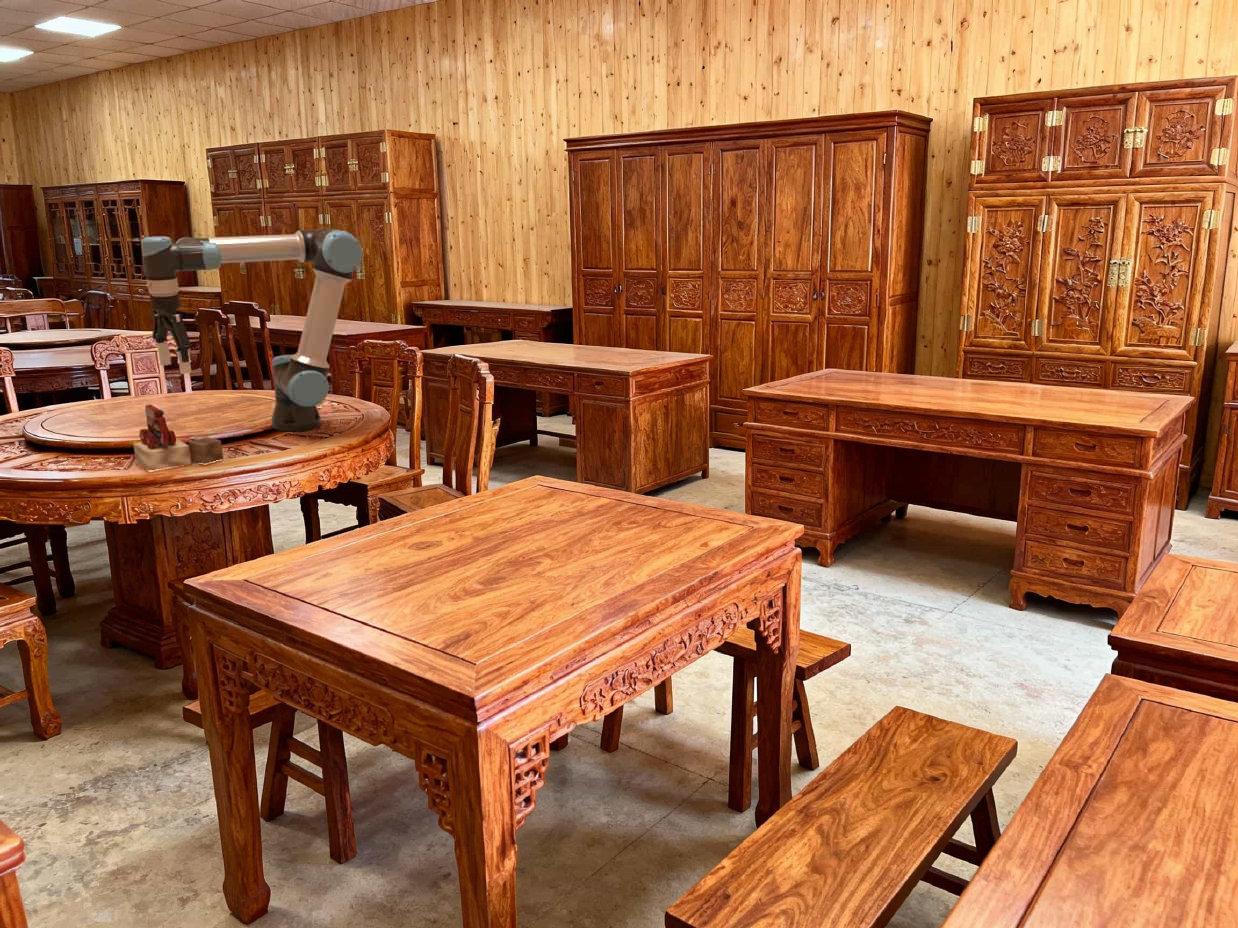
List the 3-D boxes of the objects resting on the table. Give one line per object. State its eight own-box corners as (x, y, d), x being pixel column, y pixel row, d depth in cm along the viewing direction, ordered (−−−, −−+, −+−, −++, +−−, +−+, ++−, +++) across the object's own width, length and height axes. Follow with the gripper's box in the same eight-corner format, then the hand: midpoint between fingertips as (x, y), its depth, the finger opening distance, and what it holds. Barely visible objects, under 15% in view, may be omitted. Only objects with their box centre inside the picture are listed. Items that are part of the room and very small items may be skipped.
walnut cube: (209, 456, 266) (207, 436, 264) (222, 460, 263) (220, 440, 261) (190, 462, 261) (188, 441, 259) (204, 466, 258) (202, 445, 256)
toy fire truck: (153, 451, 251) (148, 415, 247) (138, 440, 259) (133, 405, 256) (180, 447, 255) (175, 411, 252) (164, 436, 264) (159, 401, 260)
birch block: (176, 456, 266) (174, 436, 264) (191, 465, 259) (188, 445, 257) (136, 463, 259) (133, 443, 257) (149, 473, 251) (146, 453, 249)
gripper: (132, 290, 260) (144, 363, 267) (169, 301, 244) (181, 379, 251) (159, 287, 265) (170, 359, 272) (197, 298, 249) (208, 374, 256)
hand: (175, 369), depth 261 cm, fingers open, 13 cm apart
